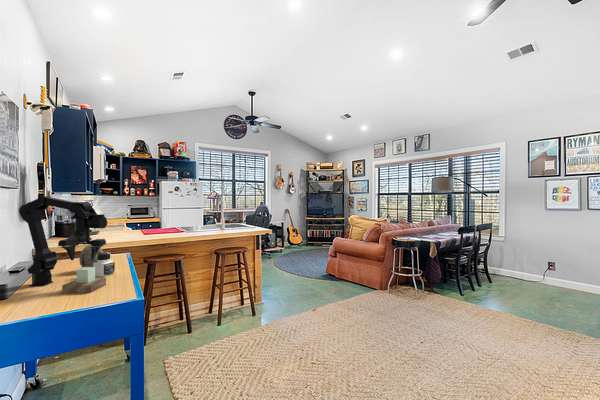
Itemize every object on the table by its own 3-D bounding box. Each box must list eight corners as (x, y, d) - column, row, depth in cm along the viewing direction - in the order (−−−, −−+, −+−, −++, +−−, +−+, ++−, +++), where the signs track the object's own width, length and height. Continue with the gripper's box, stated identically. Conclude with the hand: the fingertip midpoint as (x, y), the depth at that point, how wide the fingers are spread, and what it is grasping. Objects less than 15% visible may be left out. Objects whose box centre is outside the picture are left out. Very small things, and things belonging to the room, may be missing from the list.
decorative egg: (92, 273, 162) (92, 246, 162) (74, 272, 164) (74, 245, 164) (109, 268, 173) (109, 243, 173) (92, 267, 175) (92, 242, 175)
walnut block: (62, 294, 130) (62, 285, 130) (80, 286, 142) (80, 277, 142) (90, 293, 131) (90, 285, 131) (106, 285, 143) (106, 277, 143)
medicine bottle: (103, 277, 155) (104, 254, 155) (92, 276, 157) (92, 254, 157) (114, 273, 162) (115, 252, 162) (104, 272, 164) (104, 251, 164)
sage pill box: (76, 282, 134) (76, 269, 134) (84, 279, 139) (84, 267, 139) (87, 282, 134) (87, 269, 134) (95, 279, 139) (95, 267, 139)
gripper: (49, 230, 133) (49, 264, 133) (92, 230, 134) (92, 264, 134) (66, 227, 144) (66, 259, 144) (106, 227, 145) (106, 258, 145)
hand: (82, 260), depth 142 cm, fingers open, 9 cm apart
